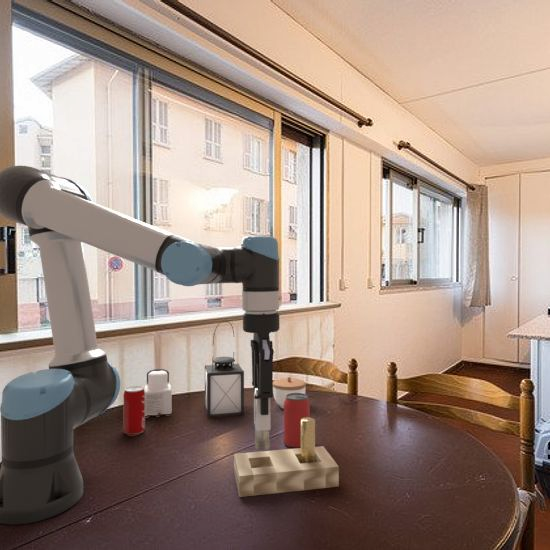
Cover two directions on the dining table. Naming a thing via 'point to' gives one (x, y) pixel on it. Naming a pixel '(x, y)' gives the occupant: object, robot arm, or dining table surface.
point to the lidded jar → (287, 388)
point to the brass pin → (307, 440)
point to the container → (158, 393)
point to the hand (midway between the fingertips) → (262, 426)
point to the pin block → (283, 472)
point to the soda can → (134, 410)
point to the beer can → (294, 417)
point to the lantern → (224, 387)
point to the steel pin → (261, 433)
